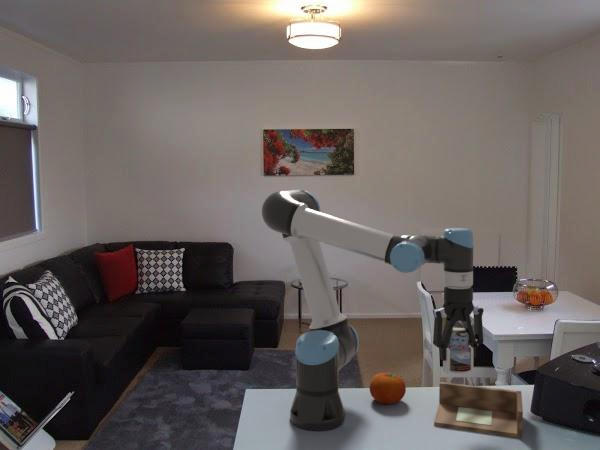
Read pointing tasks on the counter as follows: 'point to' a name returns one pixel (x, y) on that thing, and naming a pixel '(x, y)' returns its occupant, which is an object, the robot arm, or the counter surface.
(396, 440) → the counter surface
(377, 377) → the fruit
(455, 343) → the labeled jar
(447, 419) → the tray
